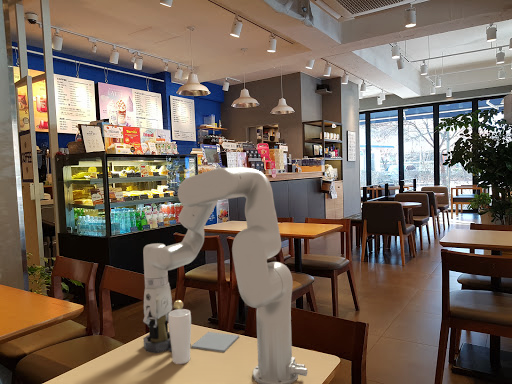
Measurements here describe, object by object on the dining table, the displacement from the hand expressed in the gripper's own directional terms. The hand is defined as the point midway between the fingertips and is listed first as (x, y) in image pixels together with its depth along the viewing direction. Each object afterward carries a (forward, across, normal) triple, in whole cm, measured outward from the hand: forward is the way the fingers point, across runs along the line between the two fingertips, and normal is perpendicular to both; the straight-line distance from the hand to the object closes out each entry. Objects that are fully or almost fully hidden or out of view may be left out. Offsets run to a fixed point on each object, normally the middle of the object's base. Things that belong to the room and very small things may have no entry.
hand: (158, 334), depth 131 cm
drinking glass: (+4, -7, -13) cm, 15 cm away
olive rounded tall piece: (+4, 0, 0) cm, 4 cm away
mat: (+4, +8, -17) cm, 19 cm away
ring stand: (+4, 0, -3) cm, 5 cm away
